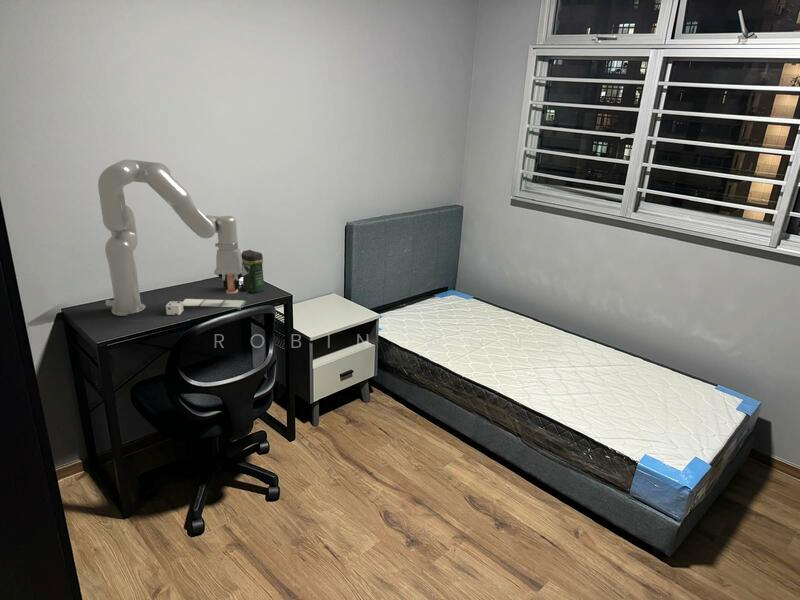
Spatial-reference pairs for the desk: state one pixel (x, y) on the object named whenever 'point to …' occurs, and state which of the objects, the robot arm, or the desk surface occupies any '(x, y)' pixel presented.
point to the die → (174, 308)
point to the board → (215, 303)
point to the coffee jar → (253, 271)
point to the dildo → (231, 284)
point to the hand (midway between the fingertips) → (231, 288)
